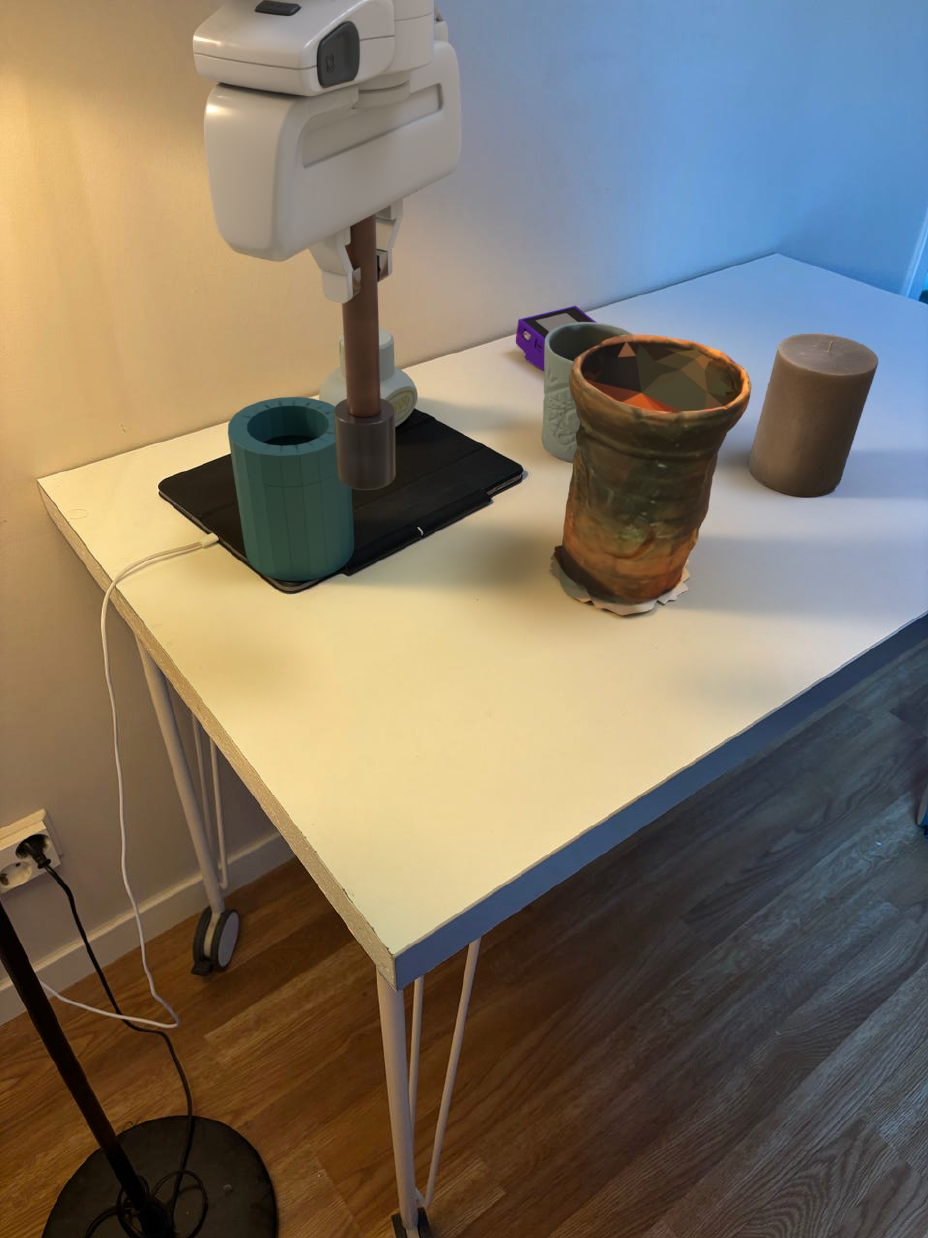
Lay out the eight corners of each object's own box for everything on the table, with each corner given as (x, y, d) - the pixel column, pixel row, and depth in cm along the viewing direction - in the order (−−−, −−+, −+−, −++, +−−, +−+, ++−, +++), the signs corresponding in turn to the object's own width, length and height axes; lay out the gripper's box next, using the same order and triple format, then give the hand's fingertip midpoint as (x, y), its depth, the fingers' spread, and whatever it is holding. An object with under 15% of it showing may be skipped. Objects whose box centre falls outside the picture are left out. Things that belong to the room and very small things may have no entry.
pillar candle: (848, 500, 98) (896, 365, 89) (753, 494, 99) (790, 358, 89) (828, 452, 106) (870, 322, 96) (740, 446, 106) (772, 316, 96)
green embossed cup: (589, 414, 111) (602, 314, 103) (646, 454, 104) (664, 350, 96) (517, 435, 106) (525, 333, 99) (571, 478, 100) (584, 372, 92)
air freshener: (373, 392, 113) (371, 310, 107) (428, 414, 109) (428, 330, 103) (309, 427, 106) (301, 342, 100) (364, 451, 103) (360, 365, 96)
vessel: (736, 596, 86) (793, 393, 73) (598, 635, 81) (633, 426, 68) (650, 512, 96) (686, 320, 83) (522, 543, 91) (540, 344, 78)
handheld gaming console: (591, 376, 110) (518, 316, 118) (583, 414, 114) (512, 353, 122) (652, 359, 114) (577, 301, 122) (642, 396, 118) (570, 338, 126)
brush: (326, 480, 65) (306, 206, 54) (357, 454, 68) (345, 188, 56) (376, 496, 64) (367, 219, 52) (406, 469, 67) (404, 200, 55)
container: (223, 560, 87) (203, 435, 79) (287, 507, 94) (274, 386, 86) (315, 594, 84) (304, 467, 76) (374, 536, 91) (369, 414, 83)
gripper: (397, -10, 57) (400, 229, 66) (165, 42, 43) (209, 336, 52) (492, 1, 55) (482, 246, 64) (281, 60, 41) (306, 363, 50)
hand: (358, 288), depth 57 cm, fingers closed on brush, 2 cm apart
